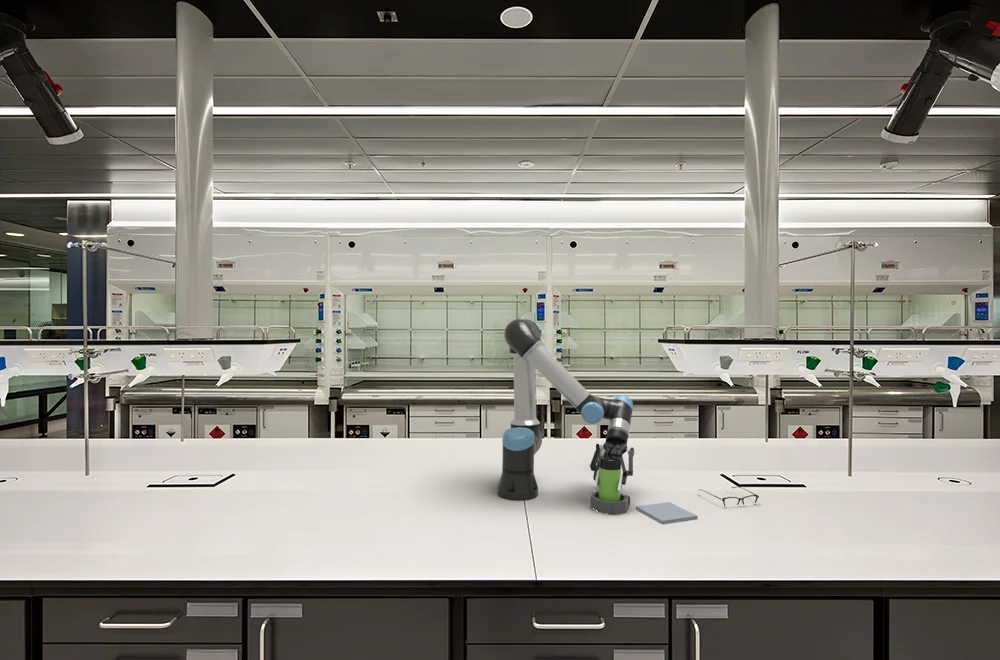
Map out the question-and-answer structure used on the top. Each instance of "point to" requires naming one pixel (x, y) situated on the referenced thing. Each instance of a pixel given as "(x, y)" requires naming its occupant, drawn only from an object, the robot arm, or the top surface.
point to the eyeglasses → (736, 497)
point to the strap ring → (610, 504)
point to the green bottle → (609, 477)
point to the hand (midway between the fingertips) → (607, 490)
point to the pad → (666, 512)
